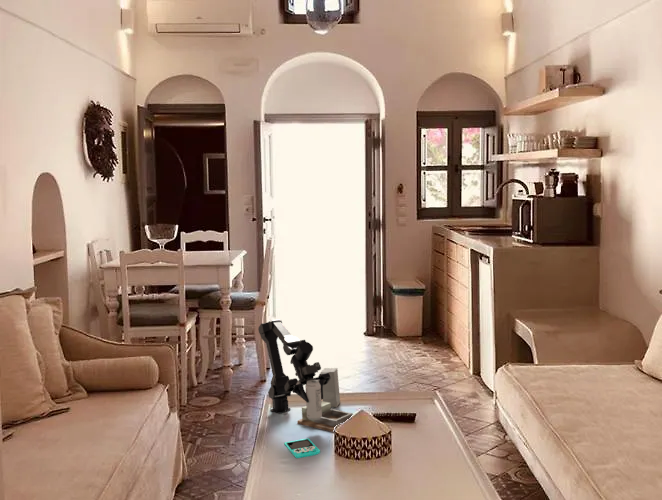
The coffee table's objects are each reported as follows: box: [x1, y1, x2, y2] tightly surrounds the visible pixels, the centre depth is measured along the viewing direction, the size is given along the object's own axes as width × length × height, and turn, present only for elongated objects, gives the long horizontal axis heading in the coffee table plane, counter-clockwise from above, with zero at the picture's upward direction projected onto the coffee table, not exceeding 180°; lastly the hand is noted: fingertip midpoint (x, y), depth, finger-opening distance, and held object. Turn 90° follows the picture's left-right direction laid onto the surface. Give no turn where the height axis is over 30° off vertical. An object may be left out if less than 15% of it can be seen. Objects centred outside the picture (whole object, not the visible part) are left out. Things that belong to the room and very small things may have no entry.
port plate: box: [296, 400, 354, 433], centre depth 303 cm, size 20×16×6 cm
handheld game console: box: [283, 437, 321, 459], centre depth 275 cm, size 10×16×1 cm, turn 20°
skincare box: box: [319, 367, 341, 408], centre depth 326 cm, size 8×7×16 cm
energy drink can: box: [304, 380, 322, 420], centre depth 291 cm, size 6×6×15 cm
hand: (315, 400), depth 290 cm, fingers closed on energy drink can, 6 cm apart
